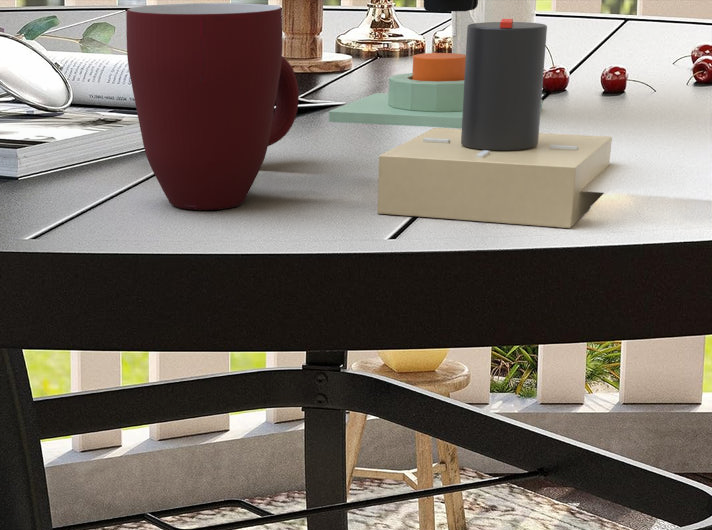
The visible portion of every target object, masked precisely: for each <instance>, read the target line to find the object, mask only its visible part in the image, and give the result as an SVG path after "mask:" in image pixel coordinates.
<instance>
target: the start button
mask: <svg viewBox="0 0 712 530" xmlns="http://www.w3.org/2000/svg"><path fill="white" fill-rule="evenodd" d="M465 61H466V54H463V53H455V52H454V53H453V52H452V53H450V52H427V53H418V54H415V55H412V72H411V73H412V80H419V81H461V80H464V78H465Z"/></svg>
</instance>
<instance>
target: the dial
mask: <svg viewBox="0 0 712 530" xmlns="http://www.w3.org/2000/svg"><path fill="white" fill-rule="evenodd" d="M547 31H548V26H547V24H544V23H539V22H529V21H528V22H527V21H526V22H525V21H514V19H513V18H502V19H501V21H488V22H476V23H470V24H468V25H467V27H466V45H465V55H466V61H465V78H464V96H463V114H462V128H461V129H462V132H461V144H462V145H463V146H465V147H469V148H473V149H481V150H496V151H510V150H524V149H530V148H533V147H536V146H537V145H538V138H539V133H540V124H541V113H542V112H541V111H542V110H541V100H543V99H542V97H543V96H542V95H543V87H544V86H543V85H544V72H545V59H546V48H547V47H546V46H547V33H548V32H547Z"/></svg>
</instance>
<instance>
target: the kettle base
mask: <svg viewBox="0 0 712 530" xmlns="http://www.w3.org/2000/svg"><path fill="white" fill-rule="evenodd" d="M463 96H464V80H461V81H419V80H412V72H409V73H398V74H394V75H392V76H389V77H388V92H375V93H373V94H370V95H368V96H365V97H363V98H360V99H357V100H355V101H352V102H349V103H347V104H345V105H344V104H343V105H342V106H339V107H336V108H334V109H331V110H329V111H328V122H329V123H330V122H331V123H346V124H347V123H351V124H366V125H367V124H368V125H369V124H371V125H388V126H389V125H390V126H409V127H410V126H411V127H426V128H449V129H462V114H463ZM543 104H544V100H543V99H541V111H542V110H543Z"/></svg>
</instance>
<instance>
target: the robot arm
mask: <svg viewBox="0 0 712 530" xmlns="http://www.w3.org/2000/svg"><path fill="white" fill-rule="evenodd" d="M478 5H479V0H423V8H424V10H425V11H426V12H429V13H431V12H432V13H433V12H435V13H436V12H437V13H438V12H442V13H443V12H447V13H448V12H469V11H473V10H476V9H477V7H478Z"/></svg>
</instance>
